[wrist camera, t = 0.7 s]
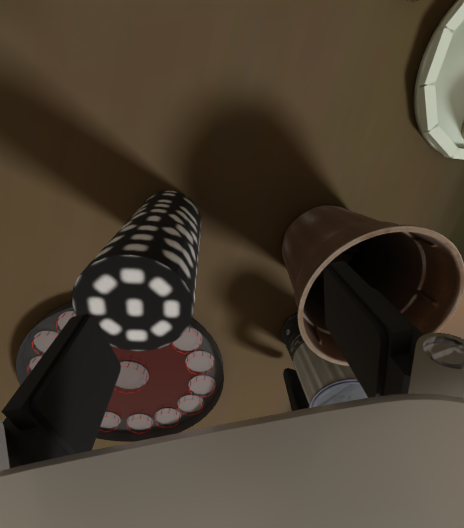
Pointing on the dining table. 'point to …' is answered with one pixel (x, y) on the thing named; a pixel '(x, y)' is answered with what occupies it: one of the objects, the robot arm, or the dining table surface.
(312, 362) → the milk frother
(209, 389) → the palette wheel
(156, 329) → the white-spotted black cylinder
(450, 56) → the pale green faceted plate
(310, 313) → the plant pot
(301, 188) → the dining table surface
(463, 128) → the bead
